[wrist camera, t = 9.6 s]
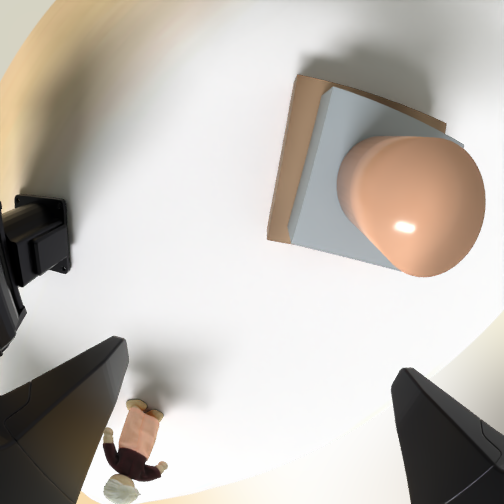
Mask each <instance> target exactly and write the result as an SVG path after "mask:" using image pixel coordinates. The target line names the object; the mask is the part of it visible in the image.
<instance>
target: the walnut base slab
mask: <svg viewBox="0 0 504 504" xmlns="http://www.w3.org/2000/svg"><path fill="white" fill-rule="evenodd" d="M333 86H334V87H337V88H340V89H343V90H346V91H349V92H352V93H354V94H357V95H360V96H363V97H365V98H368V99H371V100H373V101H376V102H378V103H381V104H383V105H385V106H388V107H390V108H393V109H395V110H397V111H399V112H402V113H404V114H406V115H408V116H410V117H413V118H415V119H417V120H419V121H421V122H423V123H425V124H427V125H429V126H431V127H433V128H435V129H437V130H439V131H441V132H442V133H444V134H445V130H446V124H447V123H444V122H442V121H440V120H438V119H436V118H434V117H431V116H429V115H427V114H424V113H422V112H420V111H417V110H415V109H412V108H410V107H407V106H405V105H402V104H399V103H397V102H394V101H391V100H388V99H386V98H383V97H380V96H377V95H374V94H371V93H368V92H364V91H361V90H358V89H355V88H351V87H348V86H344V85H340V84H337V83H333V82H329V81H325V80H321V79H317V78H312V77H308V76H303V75H298V74H297V77H296V79H295V81H294V84H293V90H292V96H291V101H290V107H289V113H288V118H287V124H286V129H285V135H284V140H283V146H282V151H281V157H280V162H279V167H278V173H277V178H276V184H275V189H274V194H273V200H272V205H271V210H270V215H269V221H268V226H267V240H271V241H276V242H282V243H287V244H291V240H290V236H289V232H288V228H287V226H288V222H289V219H290V215H291V212H292V208H293V204H294V201H295V197H296V193H297V190H298V186H299V182H300V178H301V175H302V171H303V167H304V163H305V160H306V156H307V152H308V148H309V144H310V140H311V136H312V132H313V128H314V124H315V120H316V116H317V112H318V108H319V104H320V100H321V96H322V95H323V94H324V93H326V92H327V91H328V90H329V89H331V88H332V87H333ZM293 245H294V244H293Z"/></svg>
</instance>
